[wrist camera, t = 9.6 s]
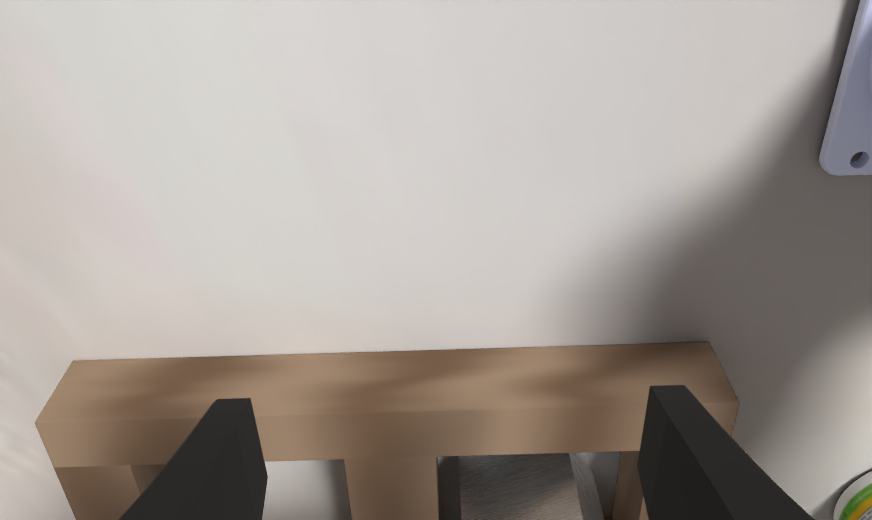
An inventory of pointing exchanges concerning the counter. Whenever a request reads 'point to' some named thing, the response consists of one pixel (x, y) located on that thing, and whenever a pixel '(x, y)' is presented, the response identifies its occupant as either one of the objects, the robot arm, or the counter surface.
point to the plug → (528, 487)
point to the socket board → (372, 415)
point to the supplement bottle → (856, 501)
